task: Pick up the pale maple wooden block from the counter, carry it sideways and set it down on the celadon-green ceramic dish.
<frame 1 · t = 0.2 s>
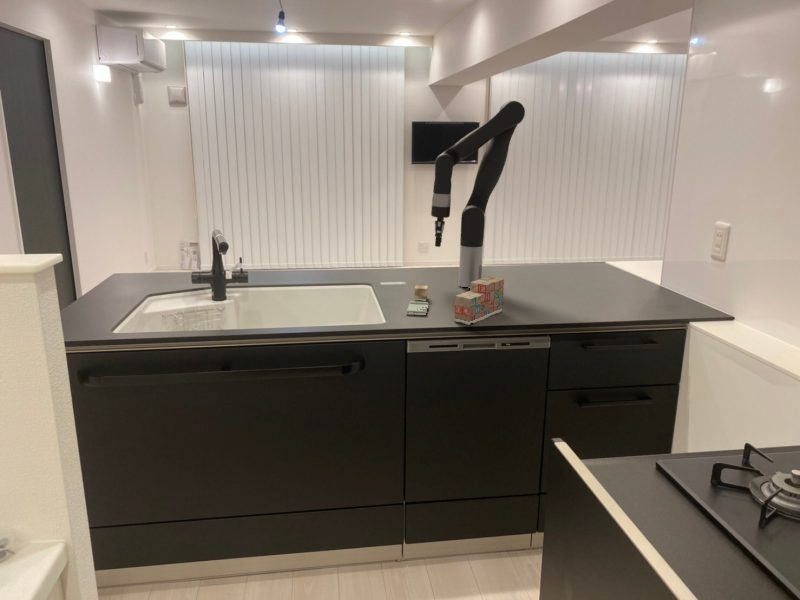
hand: (438, 244, 241), 17 cm above the counter, tool pointing down, fingers open, 8 cm apart
stack of blocks: (478, 317, 204), on the counter
ceramic dish: (417, 310, 210), on the counter
maple block: (420, 299, 225), on the counter
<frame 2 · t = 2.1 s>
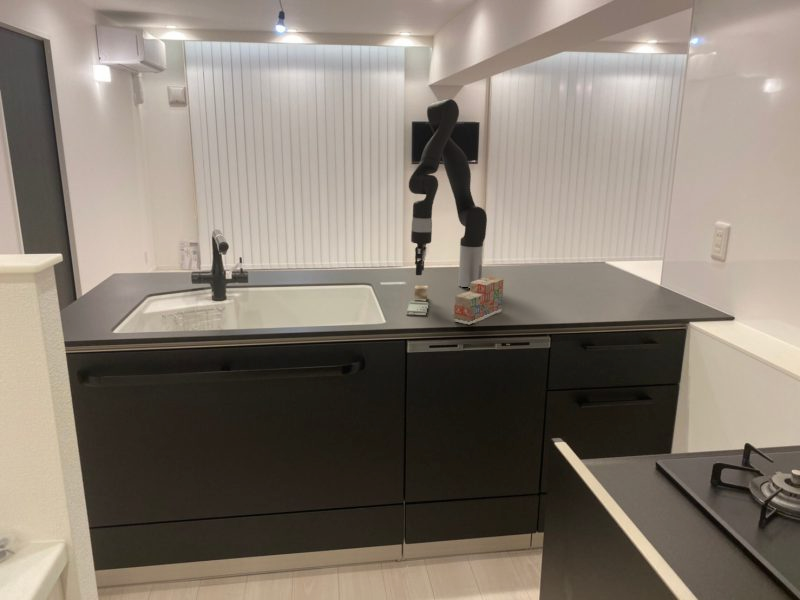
hand: (419, 272, 222), 10 cm above the counter, tool pointing down, fingers open, 8 cm apart
nothing on the counter moved.
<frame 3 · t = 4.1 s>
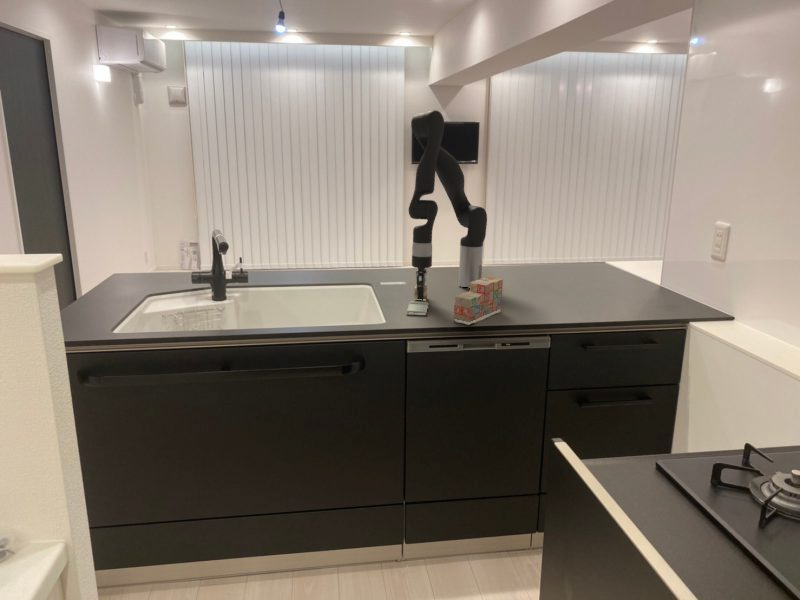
hand: (420, 298, 224), 1 cm above the counter, tool pointing down, fingers closed on maple block, 4 cm apart
maple block: (420, 299, 224), on the counter, touching gripper
everything else where it was.
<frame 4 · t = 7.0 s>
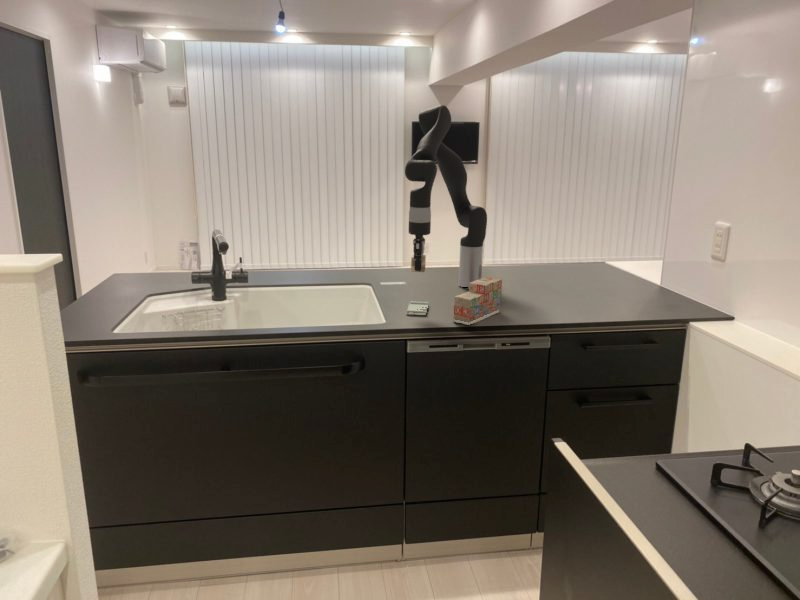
hand: (418, 268, 206), 15 cm above the counter, tool pointing down, fingers closed on maple block, 4 cm apart
maple block: (418, 270, 206), point 15 cm above the counter, touching gripper
everything else where it was.
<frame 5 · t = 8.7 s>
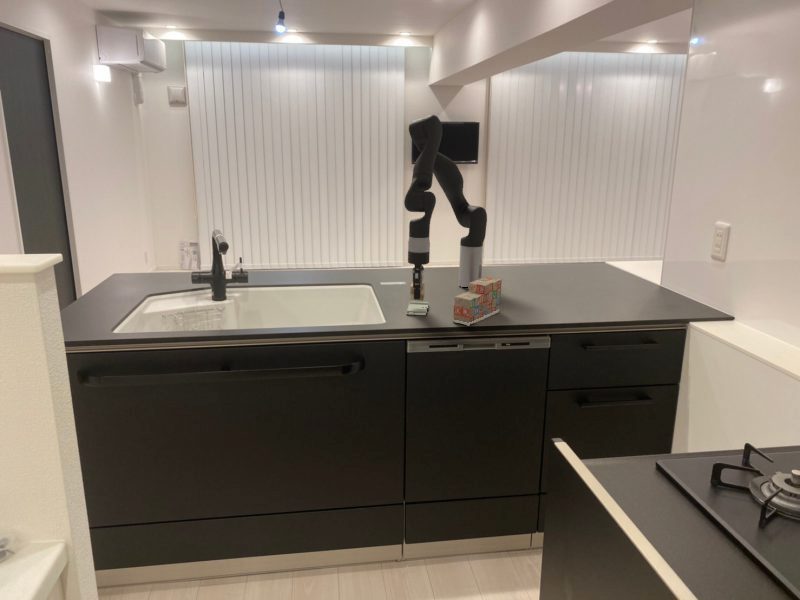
hand: (417, 296, 209), 5 cm above the counter, tool pointing down, fingers closed on maple block, 4 cm apart
maple block: (417, 298, 209), point 4 cm above the counter, touching gripper
when the fingers open (3 cm above the counter, at t = 10.0 s): maple block drops 1 cm, resting on ceramic dish.
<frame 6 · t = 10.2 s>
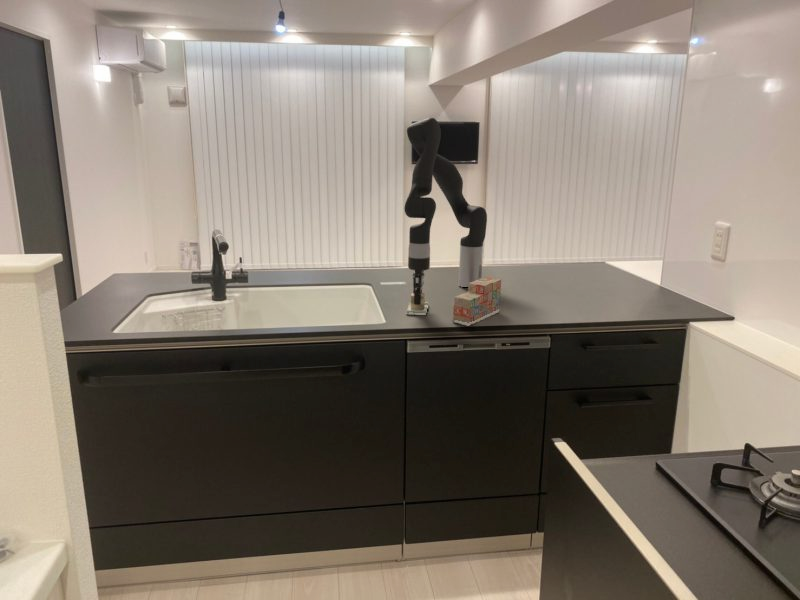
hand: (418, 301, 209), 3 cm above the counter, tool pointing down, fingers open, 6 cm apart
maple block: (417, 307, 210), point 1 cm above the counter, touching ceramic dish
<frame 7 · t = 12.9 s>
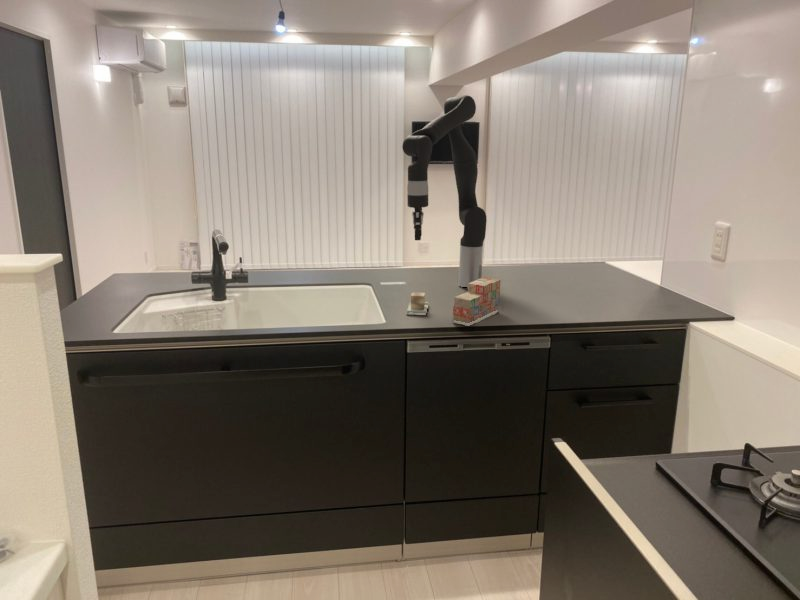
hand: (418, 238, 216), 24 cm above the counter, tool pointing down, fingers open, 8 cm apart
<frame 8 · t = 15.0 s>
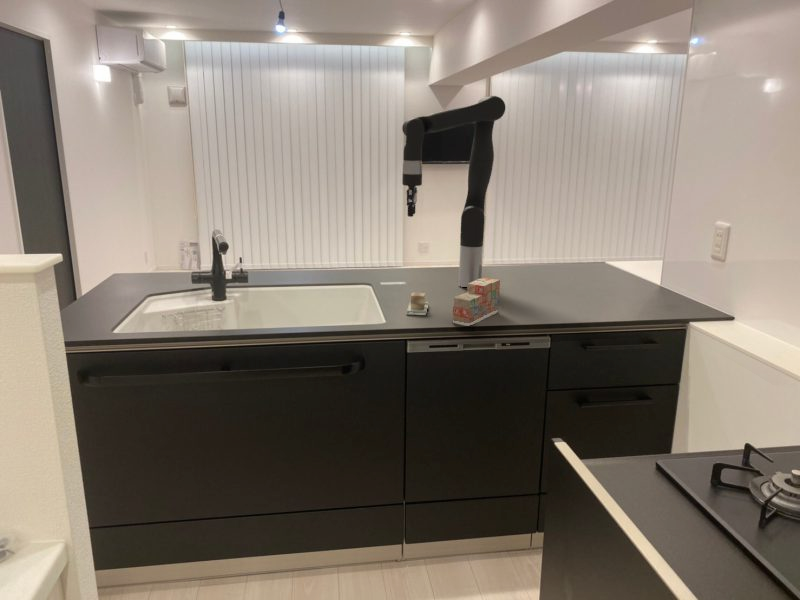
hand: (411, 215, 230), 30 cm above the counter, tool pointing down, fingers open, 8 cm apart
at the end: maple block 0.1 cm off-centre on the ceramic dish, point 1.0 cm above the ceramic dish's base; maple block tilted 0°; the gripper is holding nothing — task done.
